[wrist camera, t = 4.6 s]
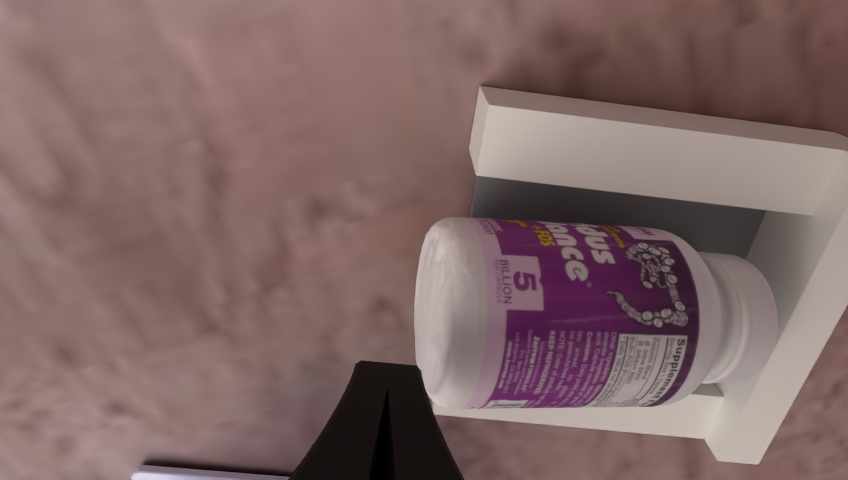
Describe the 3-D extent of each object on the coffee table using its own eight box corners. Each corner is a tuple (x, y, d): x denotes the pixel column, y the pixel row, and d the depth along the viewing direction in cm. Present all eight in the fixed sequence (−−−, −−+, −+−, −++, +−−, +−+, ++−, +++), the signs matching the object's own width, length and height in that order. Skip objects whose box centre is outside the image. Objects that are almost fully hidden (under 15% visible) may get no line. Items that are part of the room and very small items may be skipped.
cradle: (711, 394, 23) (758, 464, 19) (431, 368, 22) (433, 435, 19) (834, 131, 18) (923, 168, 15) (479, 85, 17) (493, 114, 14)
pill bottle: (432, 176, 16) (721, 197, 18) (403, 308, 19) (652, 312, 21) (472, 314, 12) (842, 319, 14) (428, 452, 15) (733, 440, 17)
